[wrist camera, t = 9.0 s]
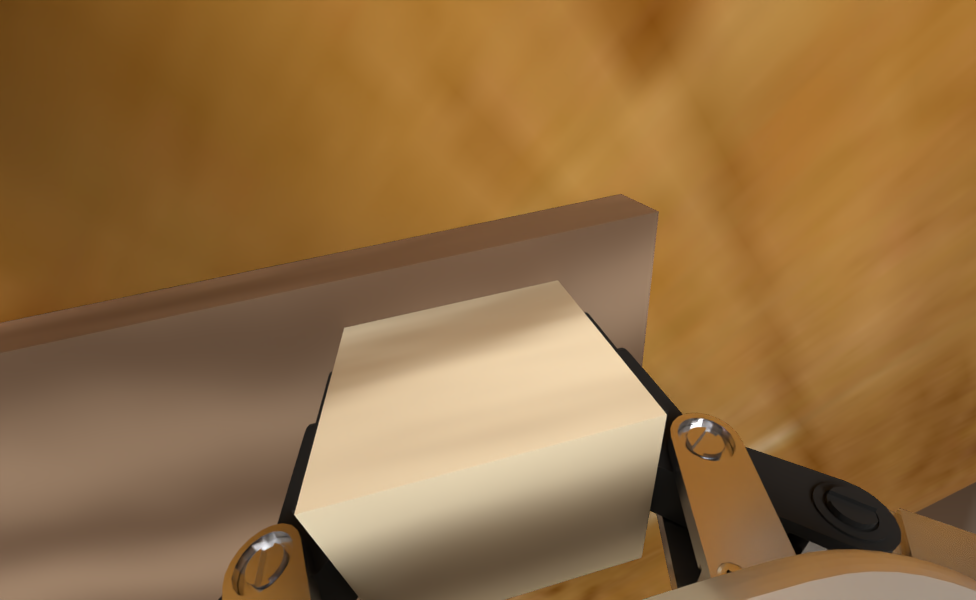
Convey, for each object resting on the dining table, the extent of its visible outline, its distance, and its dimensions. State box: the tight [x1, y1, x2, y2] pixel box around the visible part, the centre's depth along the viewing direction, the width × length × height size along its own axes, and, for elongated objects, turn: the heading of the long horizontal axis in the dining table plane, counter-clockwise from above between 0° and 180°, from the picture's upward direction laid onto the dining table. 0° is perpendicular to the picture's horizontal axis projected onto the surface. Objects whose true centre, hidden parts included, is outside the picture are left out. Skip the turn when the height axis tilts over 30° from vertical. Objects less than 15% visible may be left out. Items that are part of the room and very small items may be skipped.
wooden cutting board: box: [0, 194, 659, 600], centre depth 14 cm, size 18×28×2 cm, turn 98°
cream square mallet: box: [294, 280, 667, 600], centre depth 11 cm, size 13×6×5 cm, turn 8°
